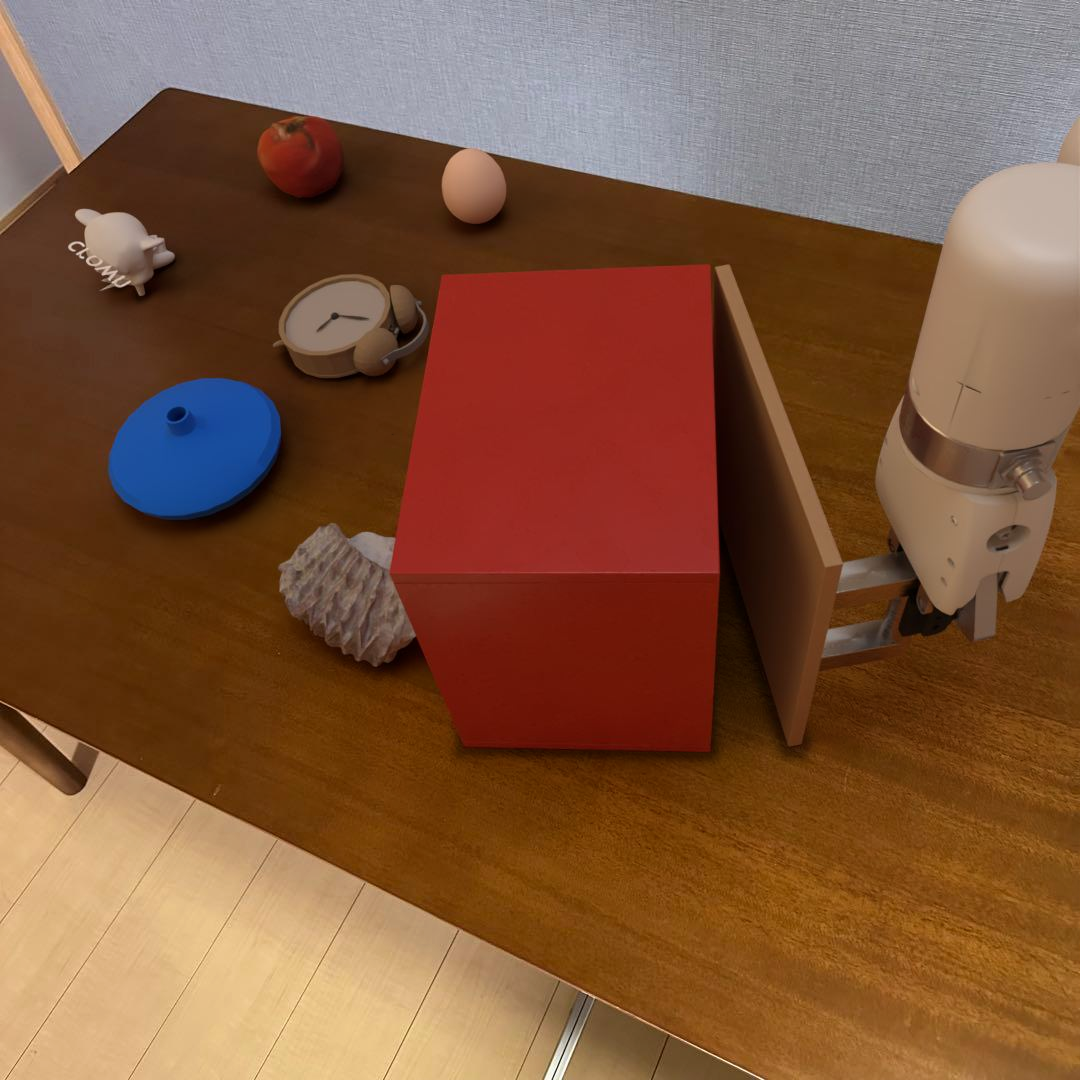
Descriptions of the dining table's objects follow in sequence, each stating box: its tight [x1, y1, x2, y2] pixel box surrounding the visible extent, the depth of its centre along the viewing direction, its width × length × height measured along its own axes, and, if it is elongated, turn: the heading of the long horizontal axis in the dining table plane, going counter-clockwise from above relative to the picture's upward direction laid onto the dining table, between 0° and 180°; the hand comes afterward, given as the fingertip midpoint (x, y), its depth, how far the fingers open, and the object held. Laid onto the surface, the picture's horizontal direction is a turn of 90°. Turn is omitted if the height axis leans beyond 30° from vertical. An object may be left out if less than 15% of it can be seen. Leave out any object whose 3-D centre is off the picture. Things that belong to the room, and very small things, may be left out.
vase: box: [107, 377, 282, 521], centre depth 93 cm, size 16×16×7 cm
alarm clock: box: [272, 273, 430, 379], centre depth 101 cm, size 11×5×15 cm
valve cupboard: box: [389, 263, 721, 753], centre depth 73 cm, size 18×24×24 cm
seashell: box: [277, 522, 417, 667], centre depth 82 cm, size 14×9×10 cm
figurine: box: [67, 208, 176, 297], centre depth 109 cm, size 12×8×10 cm
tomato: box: [257, 115, 345, 199], centre depth 115 cm, size 9×9×8 cm
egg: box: [441, 147, 507, 225], centre depth 108 cm, size 7×7×8 cm
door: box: [712, 264, 921, 748], centre depth 71 cm, size 8×24×24 cm, turn 8°
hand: (914, 607), depth 65 cm, fingers closed on door, 2 cm apart
